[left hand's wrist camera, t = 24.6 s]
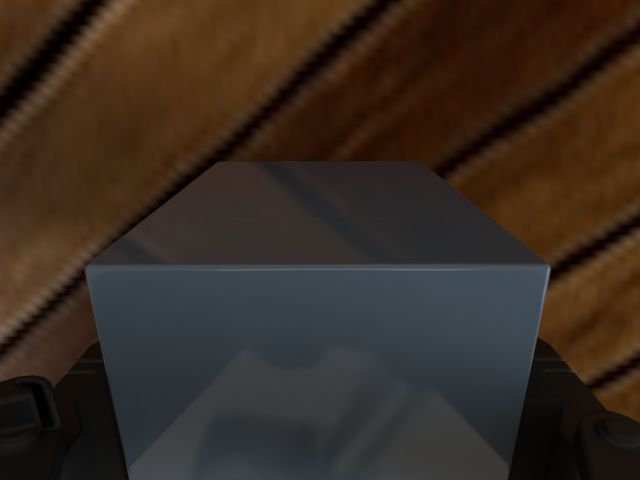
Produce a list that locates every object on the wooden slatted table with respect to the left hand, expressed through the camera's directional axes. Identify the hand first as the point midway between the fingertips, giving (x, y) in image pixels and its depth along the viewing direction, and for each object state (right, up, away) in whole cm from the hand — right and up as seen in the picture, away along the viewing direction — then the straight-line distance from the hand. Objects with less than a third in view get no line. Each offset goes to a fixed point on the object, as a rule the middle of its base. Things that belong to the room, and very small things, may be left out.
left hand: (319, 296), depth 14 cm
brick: (0, +1, +3) cm, 3 cm away
